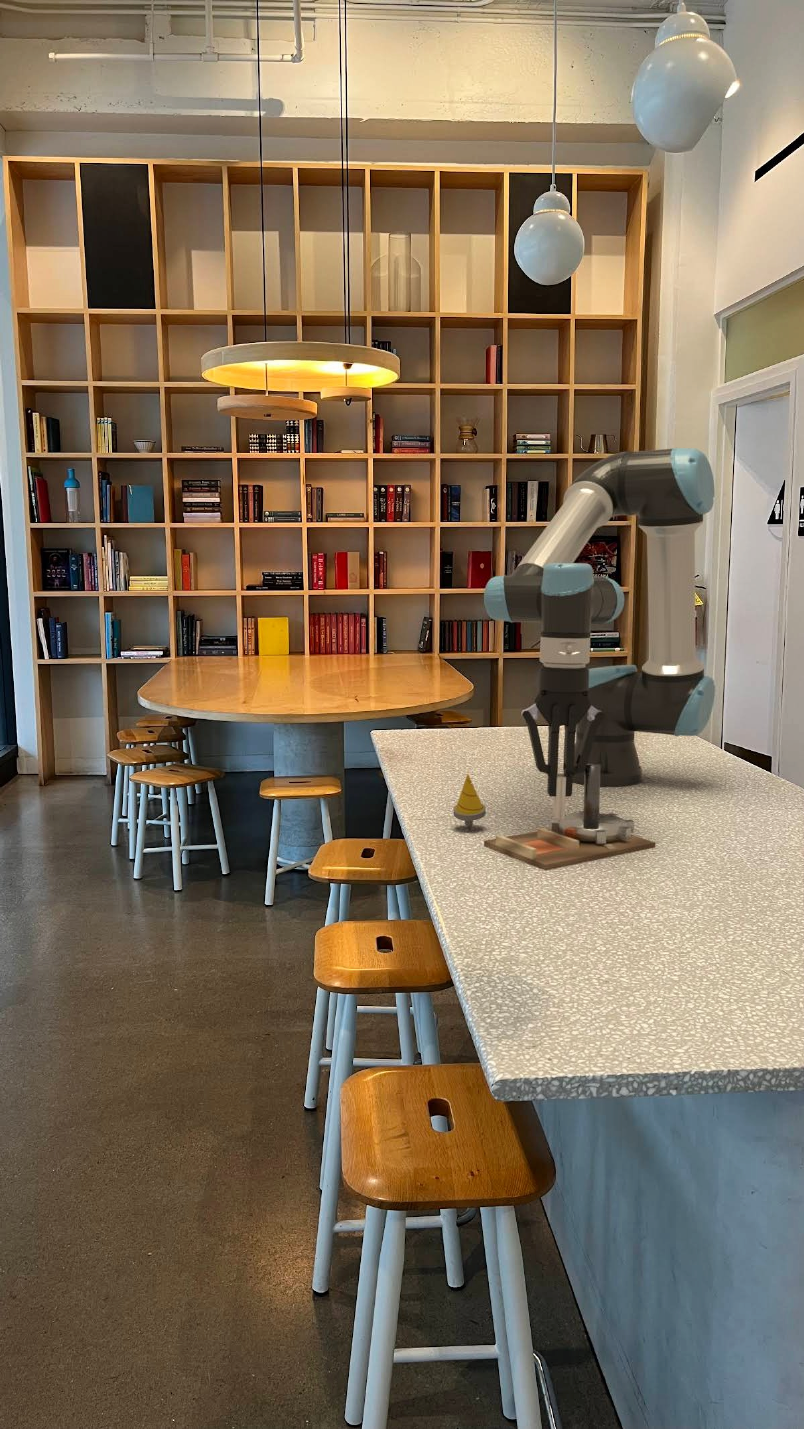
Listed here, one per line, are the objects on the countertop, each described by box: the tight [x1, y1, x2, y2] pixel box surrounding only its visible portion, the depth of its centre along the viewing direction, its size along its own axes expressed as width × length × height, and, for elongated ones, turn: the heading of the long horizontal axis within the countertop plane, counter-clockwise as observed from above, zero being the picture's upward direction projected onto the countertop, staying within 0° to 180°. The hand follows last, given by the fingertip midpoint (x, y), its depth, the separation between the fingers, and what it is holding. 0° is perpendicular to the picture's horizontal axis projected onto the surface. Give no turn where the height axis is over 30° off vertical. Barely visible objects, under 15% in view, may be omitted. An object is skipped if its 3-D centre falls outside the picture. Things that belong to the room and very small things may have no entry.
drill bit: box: [453, 774, 487, 829], centre depth 169 cm, size 5×5×10 cm
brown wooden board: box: [483, 827, 656, 871], centre depth 159 cm, size 15×22×2 cm
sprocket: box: [549, 763, 635, 844], centre depth 162 cm, size 13×13×12 cm
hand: (558, 816), depth 158 cm, fingers closed
